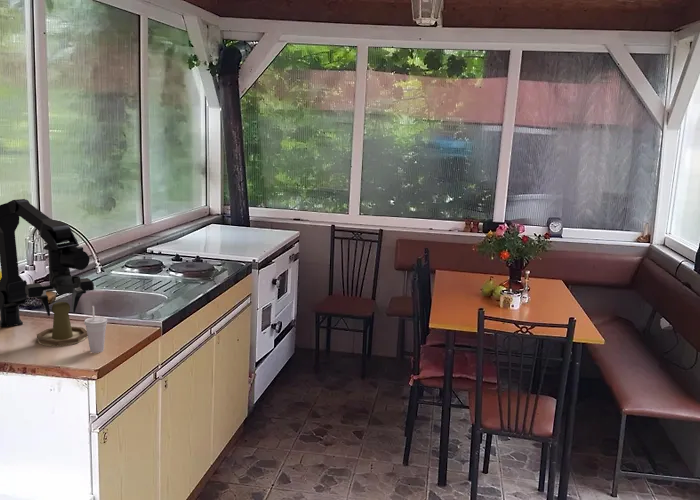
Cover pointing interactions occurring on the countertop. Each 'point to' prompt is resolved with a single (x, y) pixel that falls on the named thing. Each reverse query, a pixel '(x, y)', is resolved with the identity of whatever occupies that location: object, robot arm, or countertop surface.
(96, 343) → the smoothie
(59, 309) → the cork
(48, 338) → the tray
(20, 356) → the countertop surface
